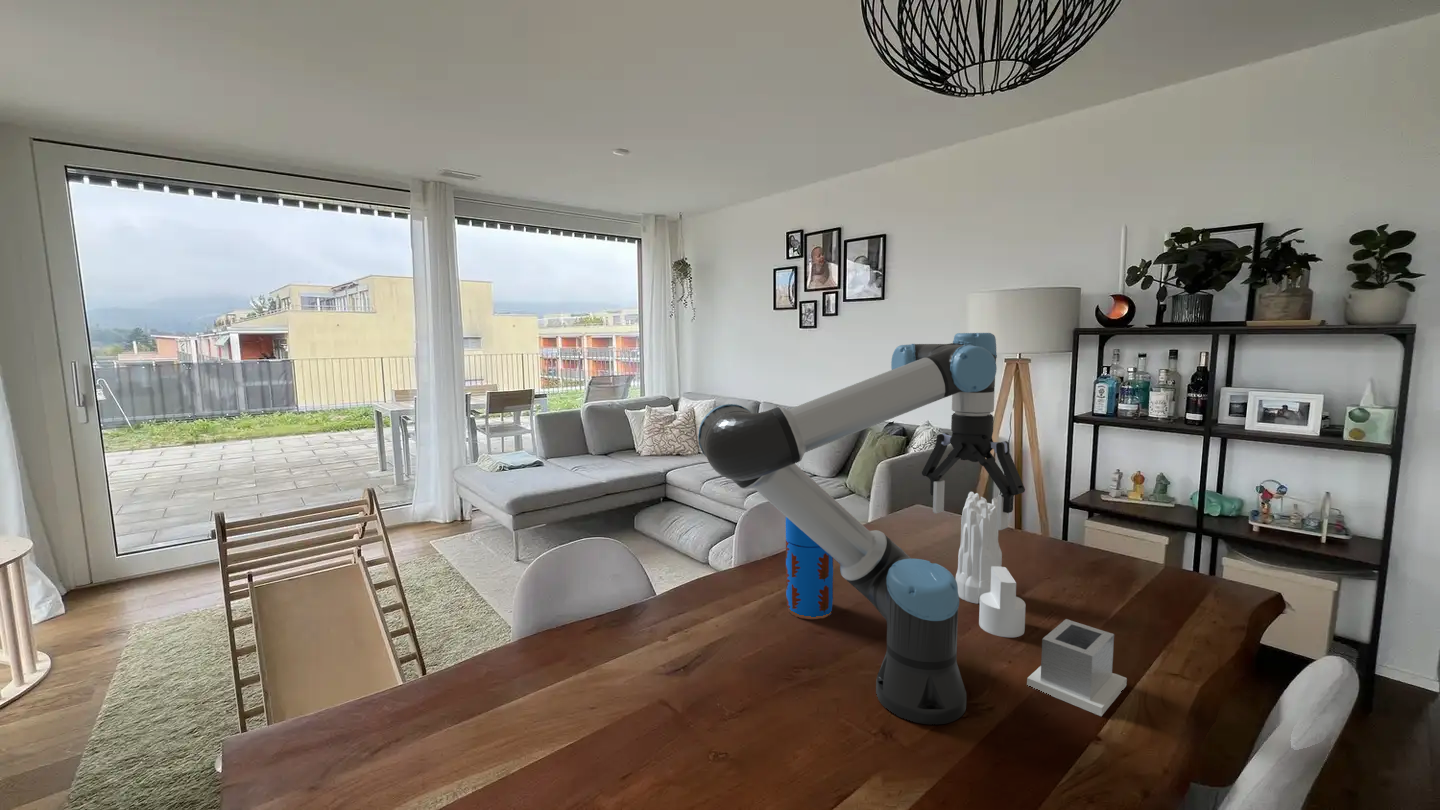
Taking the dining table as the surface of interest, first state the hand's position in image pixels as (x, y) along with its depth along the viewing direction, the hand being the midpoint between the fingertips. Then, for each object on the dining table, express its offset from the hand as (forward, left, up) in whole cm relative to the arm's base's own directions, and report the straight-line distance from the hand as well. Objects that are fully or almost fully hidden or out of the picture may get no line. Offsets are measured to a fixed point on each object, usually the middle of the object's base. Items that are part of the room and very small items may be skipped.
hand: (968, 520), depth 119 cm
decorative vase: (+27, +11, -28) cm, 40 cm away
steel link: (+3, -19, -26) cm, 32 cm away
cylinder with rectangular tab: (+15, 0, -28) cm, 31 cm away
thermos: (-9, +34, -28) cm, 44 cm away
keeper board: (+3, -19, -27) cm, 34 cm away
